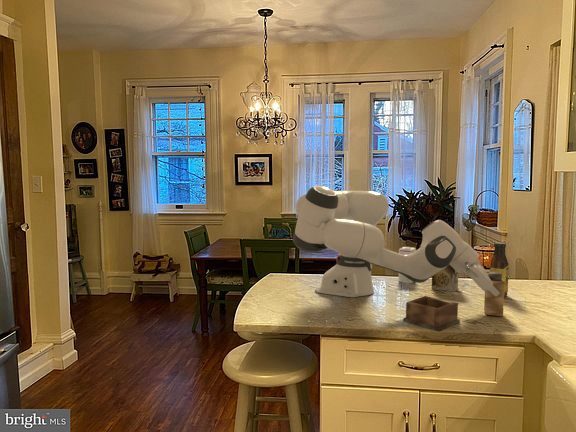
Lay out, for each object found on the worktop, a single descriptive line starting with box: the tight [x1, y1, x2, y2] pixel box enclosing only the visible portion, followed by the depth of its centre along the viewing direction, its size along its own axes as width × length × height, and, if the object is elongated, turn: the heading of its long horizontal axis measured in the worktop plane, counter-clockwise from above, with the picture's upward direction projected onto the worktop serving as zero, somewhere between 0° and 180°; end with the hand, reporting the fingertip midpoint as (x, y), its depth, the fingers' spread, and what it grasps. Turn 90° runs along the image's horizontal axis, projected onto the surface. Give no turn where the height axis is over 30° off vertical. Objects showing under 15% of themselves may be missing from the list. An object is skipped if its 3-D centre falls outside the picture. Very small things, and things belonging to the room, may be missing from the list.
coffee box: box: [431, 264, 459, 292], centre depth 176 cm, size 9×6×16 cm
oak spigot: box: [483, 271, 505, 317], centre depth 143 cm, size 5×5×13 cm
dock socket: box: [403, 295, 461, 332], centre depth 136 cm, size 12×12×6 cm
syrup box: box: [398, 246, 417, 284], centre depth 189 cm, size 6×6×14 cm
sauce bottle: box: [489, 242, 510, 298], centre depth 167 cm, size 7×6×20 cm
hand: (496, 292), depth 143 cm, fingers closed on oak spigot, 5 cm apart
